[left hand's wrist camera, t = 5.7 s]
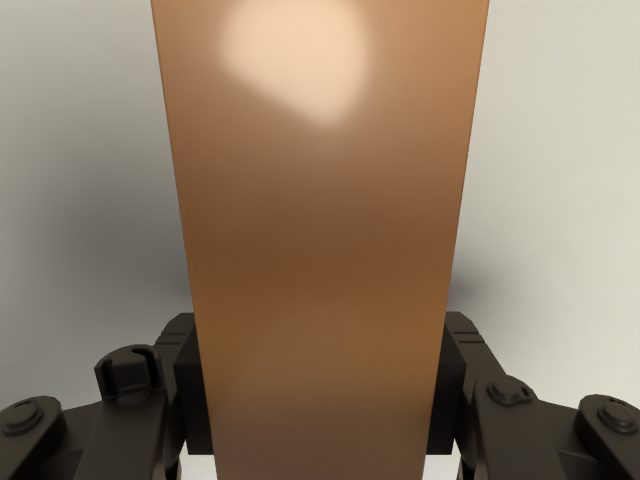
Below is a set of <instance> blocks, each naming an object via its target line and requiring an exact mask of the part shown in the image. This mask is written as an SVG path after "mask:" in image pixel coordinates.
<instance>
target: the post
mask: <svg viewBox="0 0 640 480" xmlns="http://www.w3.org/2000/svg"><path fill="white" fill-rule="evenodd" d="M150 1H151V8H152V15H153V22H154V29H155V36H156V44H157V51H158V58H159V65H160V72H161V79H162V87H163V94H164V101H165V108H166V115H167V122H168V129H169V137H170V144H171V151H172V158H173V165H174V172H175V180H176V187H177V194H178V201H179V208H180V215H181V223H182V230H183V237H184V244H185V251H186V258H187V265H188V273H189V280H190V287H191V294H192V301H193V308H194V316H195V323H196V330H197V337H198V344H199V351H200V358H201V366H202V373H203V380H204V387H205V394H206V401H207V409H208V416H209V423H210V430H211V437H212V444H213V451H214V459H215V466H216V473H217V480H422V478H423V471H424V464H425V457H426V449H427V442H428V435H429V428H430V421H431V414H432V407H433V400H434V392H435V385H436V378H437V371H438V364H439V357H440V350H441V343H442V335H443V328H444V321H445V314H446V307H447V300H448V293H449V285H450V278H451V271H452V264H453V257H454V250H455V243H456V236H457V228H458V221H459V214H460V207H461V200H462V193H463V186H464V179H465V171H466V164H467V157H468V150H469V143H470V136H471V129H472V122H473V114H474V107H475V100H476V93H477V86H478V79H479V72H480V65H481V57H482V50H483V43H484V36H485V29H486V22H487V15H488V8H489V0H150Z"/></svg>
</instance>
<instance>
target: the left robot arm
mask: <svg viewBox="0 0 640 480" xmlns="http://www.w3.org/2000/svg"><path fill="white" fill-rule="evenodd" d="M94 370H95V374H96V378H97V382H98V385H99V389H100V393H101V397H102V400H101V401H100V402H97V403H93V404H90V405H85V406H81V407H77V408H73V409H68V410H64V411H63V410H62V407H61V404H60V402H59V401H58V400H57V399H55V398H54V397H49V396H39V397H32V398H28V399H25V400H23V401H20V402H17V403H15V404H13V405H11V406H9V407H8V408H6V409H4V410H2V411H1V412H0V480H181V472H182V470H181V463H180V458H179V455H180V452H181V450H182V447H183V444H184V442H185V439H186V444H187V450H188V455H214V451H213V444H212V437H211V430H210V423H209V416H208V409H207V401H206V394H205V387H204V380H203V373H202V366H201V358H200V351H199V344H198V337H197V330H196V323H195V316H194V313H180V314H179V315H178V316H176V317H175V318H173V319H172V320H171V321H169V322H168V324H167V325H166V327H165V328H164V330H163V331H162V333H161V336H159V337H158V339H157V341H156V342H155V345H153V346H150V345H146V344H138V345H130V346H126V347H122V348H119V349H117V350H115V351H113V352H111V353H109V354H108V355H106V356H105V357H103V358H102V359H101V360H100V361H99V362H98V363H97V365H96V366H95V368H94ZM454 438H455V441H456V443H457V446H458V448H459V451H460V454H461V458H460V463H459V469H458V474H457V479H456V480H640V410H639V409H638V408H636V407H634V406H632V405H630V404H628V403H627V402H625V401H622V400H619V399H617V398H614V397H611V396H606V395H599V394H594V395H588V396H585V397H584V398H583V399H582V400H580V403H579V406H578V409H574V408H570V407H566V406H561V405H557V404H553V403H549V402H545V401H542V400H539V399H538V398H537V396H536V394H535V393H534V391H533V390H532V389H531V388H530V387H529V386H527V385H526V384H525V383H524V382H522V381H520V380H518V379H516V378H514V377H513V376H509V375H506V373H505V372H504V370H503V369H502V367H501V365H500V364H499V362H498V361H497V359H496V358H495V356H494V355H493V353H492V352H491V350H490V349H489V347H488V345H487V344H485V341H484V339H483V338H482V336H481V335H480V334H479V332H478V330H477V329H476V327H475V325H474V324H473V322H472V321H471V320H469V319H468V318H467V317H465V316H464V315H463V314H461V313H460V312H446V314H445V321H444V328H443V335H442V343H441V350H440V357H439V364H438V371H437V378H436V385H435V392H434V400H433V407H432V414H431V421H430V428H429V435H428V442H427V449H426V455H451V454H452V448H453V442H454Z"/></svg>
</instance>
